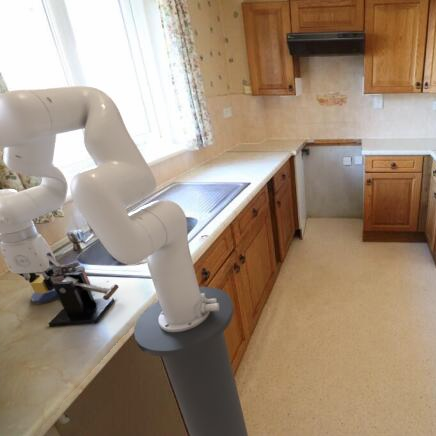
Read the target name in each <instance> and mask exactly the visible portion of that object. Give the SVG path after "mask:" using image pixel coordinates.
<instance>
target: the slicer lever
mask: <svg viewBox="0 0 436 436" xmlns="http://www.w3.org/2000/svg"><path fill="white" fill-rule="evenodd" d="M67 281H73V283H74V285H75V288H79V289H84V290H89V291H91V292H94V293H100V294H104V295H103V296H102V299H104V300H108V299H109V298H112V296H113V295H114V293H116V291H118V289H119V285H118V284H113V285H112V286H111V287H110V288H107V287H102V286H96V285H92V284H91V285H88V284H83V283H79V279H76V278H71V277H66V278H65V279H64V280H63V281H62V282H67Z"/></svg>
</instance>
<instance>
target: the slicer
mask: <svg viewBox="0 0 436 436" xmlns="http://www.w3.org/2000/svg"><path fill="white" fill-rule="evenodd" d="M63 277H64V279H65V278H66V277H71V278H76V279H79V283H83V284H87V282H86V280H85V278H84V275H83V273H82V272H78V273H65V274H64V275H63ZM53 287H54V289H55V291H56V293H57V295H58V299H59V301H60V303H61V306H62V307H63V308H62V309H61V310H60V311H59V312H58V313H57V314H56V315H55V316H54V317H53V318H52V319H51V320H50V321H49V322H48V326H49V327H50V328H52V327H53V328H55V327H66V326H67V327H68V326H78V325H79V326H80V325H90V324H91V325H92V324H98V322H99V321H100V320H101V319H102V318H103V316H104V315H105V314H106V313H107V311H108V310H109V309H110V308H111V306H112V305H113V304H114V303H115V298H114V297H110V298H109V299H108V300H104V299H103V298H94V296H93V293H92V291H89V290H84V289H79V288H75V285H74V283H73V281H67V282H55V283H54V284H53Z"/></svg>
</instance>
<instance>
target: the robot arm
mask: <svg viewBox="0 0 436 436" xmlns="http://www.w3.org/2000/svg"><path fill="white" fill-rule="evenodd" d="M123 119H124V118H123V117H122V113H121V112H120V110H119V108H118V105H117V104H116V103H115V101H114V100H113V99H112V97H110V96H109V95H108V94H107V93H106V92H104V91H103V90H101V89H99V88H97V87H93V86H86V85H85V86H83V85H78V86H77V85H76V86H75V85H74V86H73V85H72V86H53V87H46V88H43V87H42V88H30V89H29V88H28V89H16V90H10V91H5V92H2V93H0V149H3V153H2V155H3V156H2V160H3V164H4V165H5V166H6V168H7V169H9V170H10V171H12V172H14V173H16V174H19V175H22V176H27V177H36V178H41V183H40V184H39V185H36V186H32V187H29V188H27V189H22V190H20V191H17V190H16V189H13V188H3V189H0V240H1V241H0V251H1V254H2V257H3V259H4V262H5V264H6V266H7V268H8V270H9V272H11V273H12V274H15V275H19V276H20V277H23V278H24V280H25V281H27V282H29V284H30V283H32V282H33V281H34V280H35V279H37V278H38V277H39V276H40V274H41V275H42V276H43V277H44V278H45V279H44V280H43V281H44V283H45V285H46V287H47V289H48V290H49V291H51V290H52V289H54V287H53V284H54V282H53V281H52V280H51V276H53V275H55V273H54V272H53V269H55V268H59V267H60V266H61V265H62V264H60V263H59V262H58V260H57V258H56V257H55V254H54V252H53V250H52V248H51V247H50V245H49V244H48V242H47V240H46V239H45V238H44V237H43V235H42V234H40V233H39V232H38V229H37V227H36V225H35V223H34V221H33V220H35V219H37V218H40V217H42V216H44V215H47V214H49V213H50V214H51V213H53V212H55V211H59V209H61V208H62V207H63V205H64V204H65V202H66V198H67V194H68V187H69V186H68V182H67V179H66V177H65V175H64V173H63V172H62V170H60V168H59V167H58V166H57V165H56V164H54V163H53V161H54V157H55V156H54V155H55V147H56V141H57V140H56V139H57V135H59V134H65V133H68V132H73V131H78V130H83V129H84V130H83V143H84V148H85V149H86V151H87V153H88V154H89V156H90V157H91V159H92V160H93V162H94V164H95V166H92V167H89V168H86V169H83V170H81V171H80V172H78V173H76V174H75V175H74V176H73V177H72V179H71V181H70V187H69V189H70V195H71V198H72V201H73V203H74V205H75V207H76V208H77V210H78V211H79V213H80V214H81V216H82V217H83V218H84V220H85V221H86V223H87V224H88V226H89V227H90V229H91V230H92V232H93V233H94V234H95V236H96V237H97V239H98V240H99V242H100V243H101V244H102V245H103V247H104V249H105V250H106V251H107V253H108V254H109V255H111V257H112V258H114V259H115V260H116V261H117V262H119V263H121V264H124V265H136V264H138V263H141V262H143V261H144V260H146V264H147V268H148V272H149V275H150V278H151V281H152V283H153V286H154V291H155V293H156V296H157V298H158V300H159V302H160V305H161V308H162V312H161V314H160V316H159V319H158V321H159V325H160V327H161V328H162V329H163V330H165V331H168V332H182V331H186V330H189V329H191V328H194V327H196V326H197V325H199V324H200V323H202V322H203V321H204V320H205V319H206V318H207V317H208V315H209V313H210V311H219V303H217V299H216V298H214V299H207V298H206V297H205V293H200V289H199V287H200V286H199V285H200V284H199V282H198V278H197V273H196V270H195V266H194V263H193V259H192V258H193V257H192V254H191V250H190V245H189V236H188V220H187V216H186V213H185V211H184V210H183V209H182V207H181V206H180V204H178V203H176V202H174V201H173V200H169V199H159V200H158V199H157V200H154V201H152V202H149V203H147V204H145V205H143V206H141V207H139V208H137V209H135V210H133V211H132V212H130V213H129V212H127V209H126V208H128V207H131V206H133V205H135V204H136V203H138V202H141V201H142V200H144V199H146V198H148V197H150V196H151V195H153V193H155V191H156V189H157V184H158V183H157V180H156V178H155V175H154V173H153V172H152V169H151V168H150V166H149V164H148V163H147V161H146V159H145V158H144V155H143V154H142V153H141V151H140V149H139V148H138V146H137V144H136V143H135V141H134V139H133V138H132V137H131V134H130V132H129V131H128V129H127V127H126V124H125V122H124V120H123ZM37 273H40V274H37Z"/></svg>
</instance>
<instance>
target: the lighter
mask: <svg viewBox="0 0 436 436" xmlns="http://www.w3.org/2000/svg"><path fill="white" fill-rule="evenodd" d="M60 265H61V266H60V267H59V268H55V269H53V272H54V273H55V274H53V276H51V280H52V281H53V282H54V283H55V282H62V281H63V280H64V277H63V275H64V274H65V273H78V272H82V273H83V275H84V278H85V280H86V282H87V284H88V285H92V284H91V282H90V279H89V278H88V275H87V273H86V269H85V267H84V266H80V261H78V260H76V261H73V262H70V263H68V264H66V263H64V264H60Z"/></svg>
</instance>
